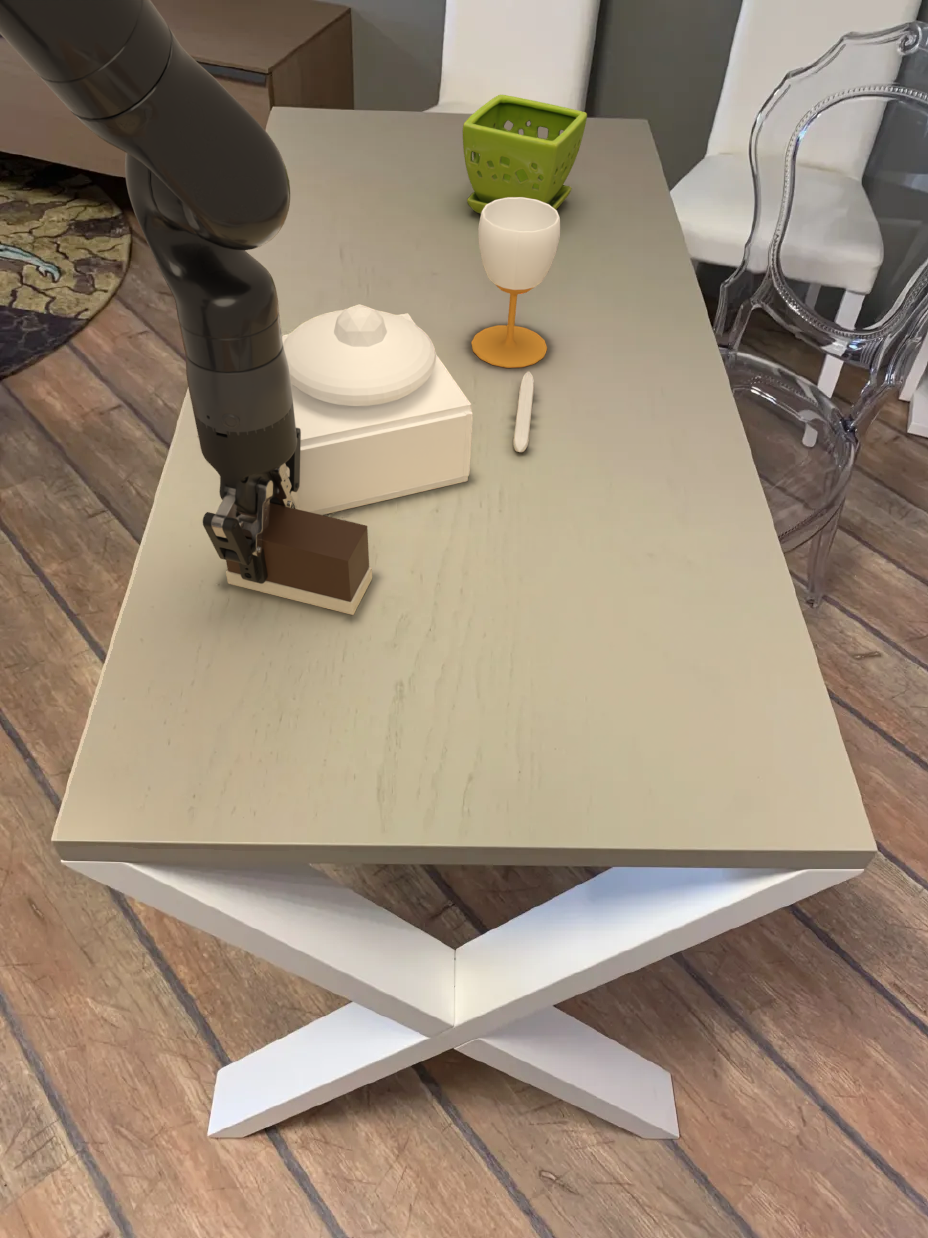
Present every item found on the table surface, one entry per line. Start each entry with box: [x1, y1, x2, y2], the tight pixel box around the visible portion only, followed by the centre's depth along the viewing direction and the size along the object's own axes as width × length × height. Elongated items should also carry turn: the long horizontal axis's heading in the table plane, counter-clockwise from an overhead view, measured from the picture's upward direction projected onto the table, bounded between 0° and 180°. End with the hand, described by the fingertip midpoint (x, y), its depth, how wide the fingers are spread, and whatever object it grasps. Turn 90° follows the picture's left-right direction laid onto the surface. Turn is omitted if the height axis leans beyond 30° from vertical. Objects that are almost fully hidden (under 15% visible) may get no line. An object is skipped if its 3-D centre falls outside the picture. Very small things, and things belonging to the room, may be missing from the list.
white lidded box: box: [282, 303, 474, 516], centre depth 93 cm, size 18×18×16 cm
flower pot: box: [462, 94, 588, 215], centre depth 133 cm, size 14×14×13 cm
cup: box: [470, 197, 561, 369], centre depth 107 cm, size 9×9×16 cm
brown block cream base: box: [225, 503, 373, 616], centre depth 83 cm, size 12×5×6 cm, turn 73°
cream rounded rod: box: [512, 370, 535, 453], centre depth 103 cm, size 2×14×2 cm, turn 174°
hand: (267, 558), depth 84 cm, fingers closed on brown block cream base, 4 cm apart
